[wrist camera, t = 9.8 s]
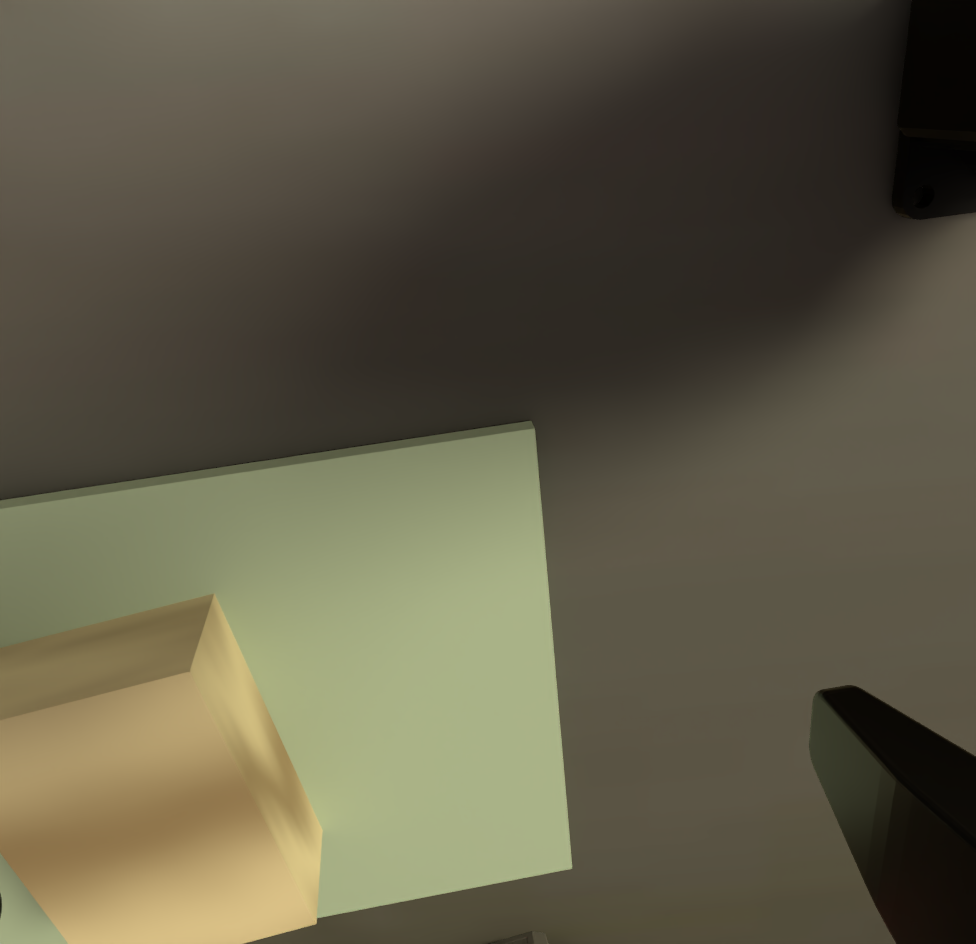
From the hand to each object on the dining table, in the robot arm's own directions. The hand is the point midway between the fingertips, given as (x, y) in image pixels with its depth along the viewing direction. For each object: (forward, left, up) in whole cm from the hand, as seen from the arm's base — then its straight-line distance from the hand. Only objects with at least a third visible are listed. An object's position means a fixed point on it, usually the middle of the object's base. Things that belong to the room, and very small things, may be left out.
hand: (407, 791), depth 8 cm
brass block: (+8, +9, -11) cm, 16 cm away
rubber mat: (+8, +9, -12) cm, 17 cm away
